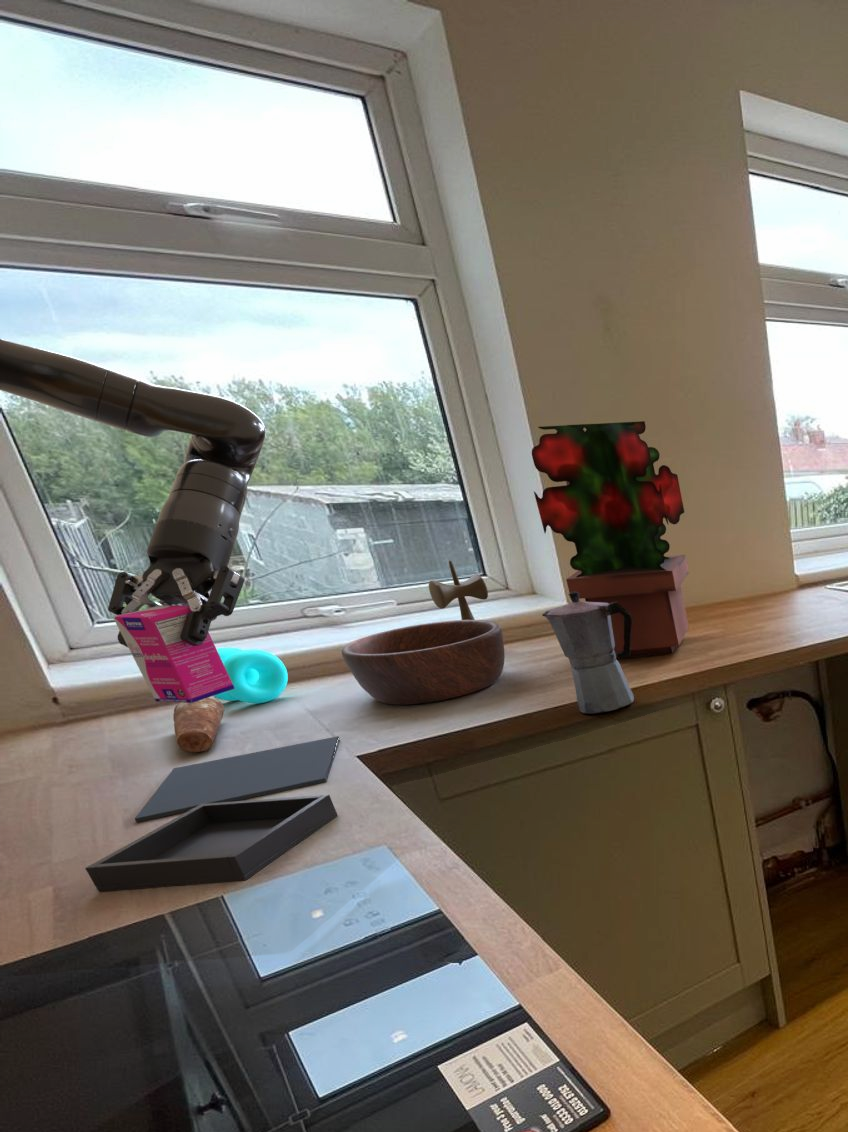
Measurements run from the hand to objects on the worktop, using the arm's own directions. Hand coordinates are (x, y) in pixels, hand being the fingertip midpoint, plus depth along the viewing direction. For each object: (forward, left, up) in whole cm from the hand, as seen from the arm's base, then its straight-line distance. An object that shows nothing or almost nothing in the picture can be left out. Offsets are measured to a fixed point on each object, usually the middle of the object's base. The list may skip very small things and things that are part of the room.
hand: (160, 644), depth 101 cm
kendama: (+31, +66, -22) cm, 77 cm away
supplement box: (+1, +1, -8) cm, 8 cm away
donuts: (-6, +57, -22) cm, 62 cm away
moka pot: (+49, +8, -22) cm, 55 cm away
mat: (0, +10, -22) cm, 25 cm away
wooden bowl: (+24, +41, -22) cm, 53 cm away
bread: (-9, +36, -22) cm, 44 cm away
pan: (+2, -18, -22) cm, 29 cm away
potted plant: (+62, +43, -22) cm, 79 cm away
